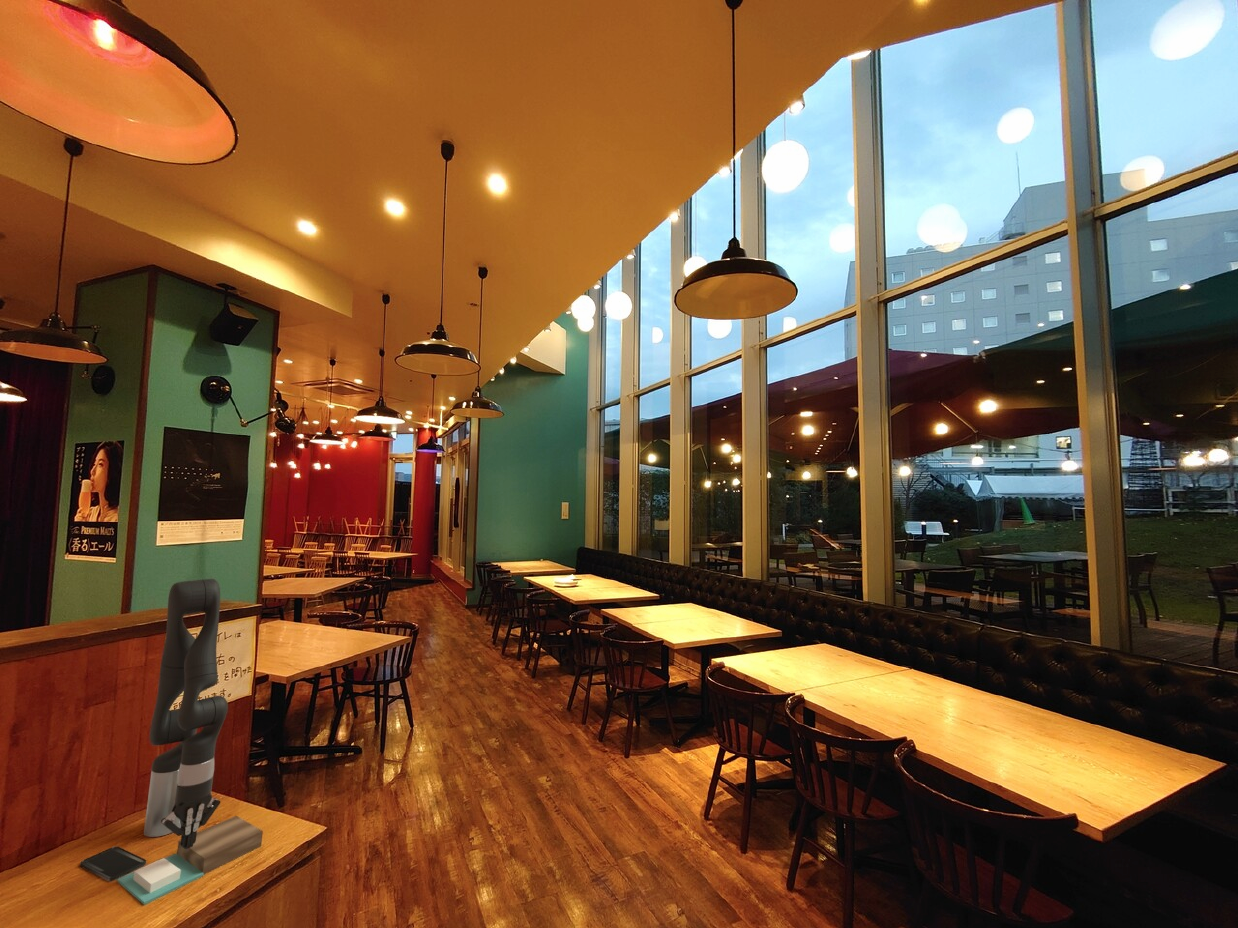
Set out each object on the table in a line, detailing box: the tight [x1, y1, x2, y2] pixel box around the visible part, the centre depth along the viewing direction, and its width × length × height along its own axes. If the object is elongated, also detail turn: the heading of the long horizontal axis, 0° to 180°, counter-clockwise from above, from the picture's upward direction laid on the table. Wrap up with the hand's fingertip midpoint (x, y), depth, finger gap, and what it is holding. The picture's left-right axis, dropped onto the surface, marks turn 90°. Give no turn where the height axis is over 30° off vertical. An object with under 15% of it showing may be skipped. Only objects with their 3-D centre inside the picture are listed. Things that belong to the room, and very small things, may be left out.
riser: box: [176, 815, 264, 875], centre depth 144 cm, size 14×14×4 cm
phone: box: [79, 845, 147, 882], centre depth 137 cm, size 8×1×15 cm
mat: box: [117, 853, 205, 906], centre depth 132 cm, size 15×12×1 cm
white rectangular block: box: [133, 857, 181, 893], centre depth 131 cm, size 9×6×2 cm, turn 62°
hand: (187, 846), depth 137 cm, fingers closed
